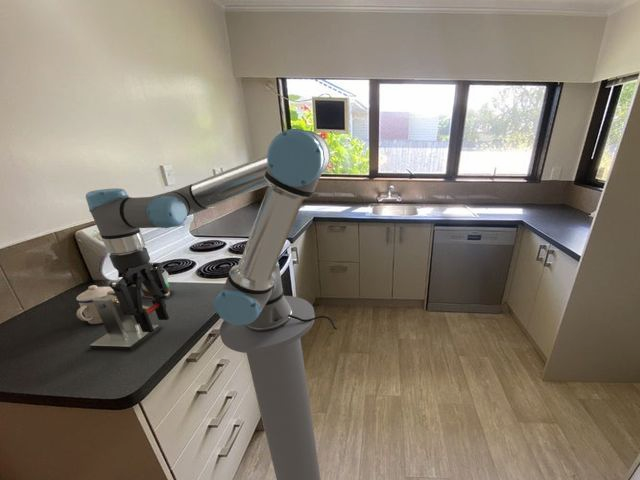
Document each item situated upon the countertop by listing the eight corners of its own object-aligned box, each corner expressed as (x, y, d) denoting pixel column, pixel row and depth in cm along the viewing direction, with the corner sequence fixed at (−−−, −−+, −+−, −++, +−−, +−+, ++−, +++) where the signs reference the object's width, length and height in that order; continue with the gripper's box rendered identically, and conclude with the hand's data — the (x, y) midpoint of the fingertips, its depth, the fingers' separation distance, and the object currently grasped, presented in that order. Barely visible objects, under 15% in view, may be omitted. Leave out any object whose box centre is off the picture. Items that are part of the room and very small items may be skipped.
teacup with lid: (103, 309, 100) (90, 280, 95) (130, 308, 100) (118, 279, 96) (70, 331, 89) (53, 298, 84) (100, 330, 89) (85, 297, 85)
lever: (160, 308, 84) (159, 302, 83) (146, 318, 79) (145, 311, 78) (114, 298, 83) (113, 291, 82) (98, 308, 79) (96, 301, 78)
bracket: (159, 328, 90) (144, 287, 84) (131, 350, 80) (112, 305, 75) (123, 327, 90) (105, 286, 85) (91, 349, 81) (69, 304, 75)
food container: (182, 291, 112) (175, 268, 108) (168, 299, 106) (160, 275, 102) (155, 288, 114) (147, 265, 110) (140, 296, 108) (131, 272, 104)
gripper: (142, 238, 83) (167, 307, 91) (77, 264, 66) (115, 345, 75) (167, 238, 82) (190, 308, 91) (108, 264, 65) (142, 346, 74)
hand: (156, 324), depth 83 cm, fingers closed on lever, 5 cm apart
